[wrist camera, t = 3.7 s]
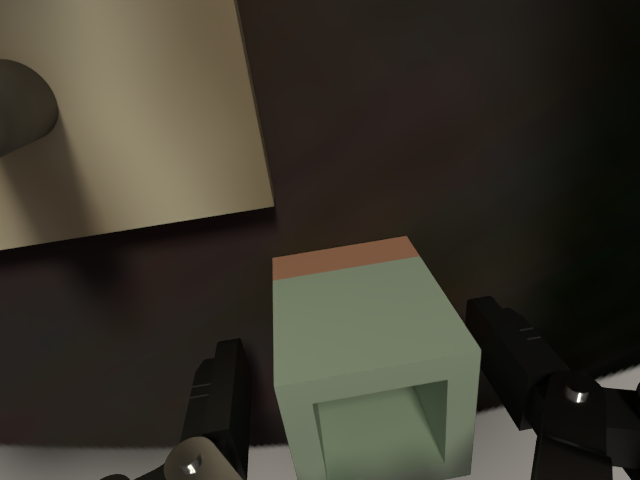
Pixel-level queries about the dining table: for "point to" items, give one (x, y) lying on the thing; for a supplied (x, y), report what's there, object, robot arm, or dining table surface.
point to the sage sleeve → (372, 366)
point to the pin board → (124, 117)
